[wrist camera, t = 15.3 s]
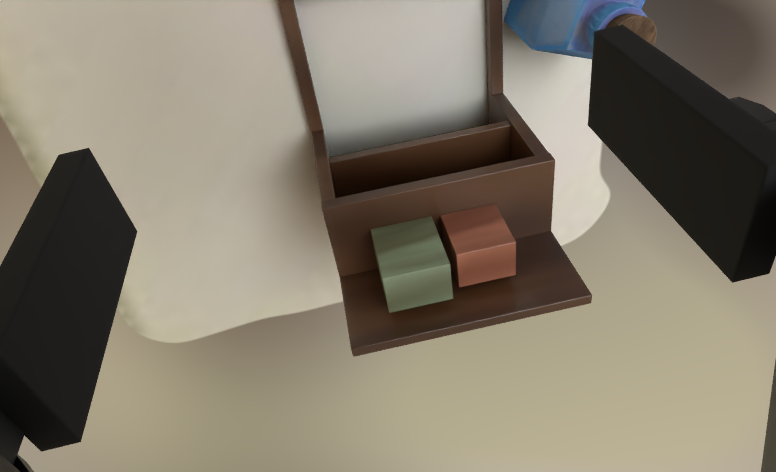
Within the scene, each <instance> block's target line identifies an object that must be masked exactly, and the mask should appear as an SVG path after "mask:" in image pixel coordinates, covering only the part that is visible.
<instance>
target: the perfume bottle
mask: <svg viewBox="0 0 776 472" xmlns="http://www.w3.org/2000/svg"><path fill="white" fill-rule="evenodd" d="M644 2H645V0H510V3H509V7H508V10H507V13H506V16H505V19H504V21H505V22H506V23H507V24H508V25H509V26H510V27H511V28H512V29H513V30H514V31H515V32H516V33H517V34H518V35H519V37H520V38H521V39H522V40H523V41H524V42H525V43H526V44H527V45H528V46H529V47H530V48H531V49H532V50H538V51H544V52H550V53H556V54H563V55H569V56H575V57H581V58H587V59H592V57H593V42H594V31H597V30H601V29H606V28H610V27H614V26H618V25H624V26H626V27H627V28H629V29H630V30H632V31H633V32H634V33H636V34H637V35H639V36H640V37H641V38H643V39H644V40H646V41H647V42H649V43H650V44H651V45H653V46H654V43H655V40H656V27H655V24H654V22H653V21H652V20H651V19H650V18H647V17H646V15H645V14H644V12H643V11H642V10H641V8H642V6H643V4H644Z"/></svg>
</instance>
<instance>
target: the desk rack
mask: <svg viewBox="0 0 776 472" xmlns="http://www.w3.org/2000/svg"><path fill="white" fill-rule="evenodd" d="M278 1H279V5H280V9H281V13H282V17H283V21H284V25H285V29H286V33H287V37H288V41H289V45H290V49H291V53H292V57H293V61H294V65H295V69H296V73H297V77H298V81H299V85H300V89H301V94H302V98H303V102H304V106H305V110H306V114H307V118H308V122H309V126H310V130H311V134H312V141H313V148H314V155H315V162H316V169H317V176H318V183H319V190H320V197H321V205H322V211H323V215H324V219H325V222H326V226H327V230H328V234H329V238H330V242H331V246H332V249H333V253H334V257H335V261H336V265H337V269H338V272H339V276H340V282H341V288H342V295H343V301H344V307H345V313H346V319H347V326H348V332H349V339H350V345H351V350H352V354H353V356H359V355H363V354H367V353H372V352H377V351H381V350H385V349H389V348H394V347H399V346H403V345H408V344H412V343H416V342H421V341H425V340H430V339H434V338H439V337H443V336H447V335H452V334H456V333H461V332H465V331H470V330H474V329H478V328H483V327H487V326H492V325H496V324H500V323H505V322H509V321H514V320H518V319H523V318H527V317H531V316H536V315H540V314H544V313H549V312H554V311H558V310H562V309H567V308H571V307H575V306H580V305H585V304H589V303H591V300H592V294H591V293H590V291H589V290H588V288H587V287H586V285H585V283H584V282H583V280H582V279H581V277H580V276H579V274H578V272H577V271H576V269H575V268H574V266H573V265H572V263H571V262H570V260H569V258H568V257H567V255H566V254H565V252H564V251H563V249H562V248H561V246H560V244H559V243H558V241H557V240H556V238H555V237H554V235H553V233H552V232H551V221H552V204H553V186H554V169H555V159H554V158H553V157H552V155H551V154H550V153H548V151H547V150H546V149H545V147H544V146H543V145H542V144H541V142H540V141H539V140H538V138H537V137H536V136H535V134H534V133H533V132H532V131H531V129H530V128H529V127H528V125H527V124H526V123H525V121H524V120H523V119H522V117H521V116H520V115H519V114H518V112H517V111H516V110H515V108H514V107H513V106H512V104H511V103H510V102H509V101H508V99H507V98H506V97H505V95H504V94H503V39H502V0H486V31H487V69H488V105H489V125H484V126H479V127H475V128H470V129H465V130H460V131H455V132H451V133H446V134H441V135H436V136H431V137H427V138H422V139H417V140H412V141H407V142H403V143H398V144H393V145H388V146H383V147H379V148H374V149H369V150H364V151H359V152H355V153H350V154H345V155H340V156H335V157H331V158H330V156H329V152H328V147H327V143H326V139H325V134H324V130H323V126H322V122H321V117H320V113H319V109H318V104H317V100H316V96H315V91H314V87H313V83H312V78H311V74H310V70H309V66H308V61H307V57H306V53H305V48H304V44H303V40H302V35H301V31H300V27H299V22H298V18H297V14H296V10H295V5H294V1H293V0H278Z"/></svg>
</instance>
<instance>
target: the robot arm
mask: <svg viewBox="0 0 776 472" xmlns="http://www.w3.org/2000/svg"><path fill="white" fill-rule="evenodd" d="M588 126H589V127H590V128H591V129H592V130H593V131H594V132H595V133H596V134H597V136H598V137H599V138H600V139H601V140H602V141H603V142H604V143H605V144H606V145H607V146H608V147H609V149H610V150H611V151H612V152H613V153H614V154H615V155H616V156H617V157H618V158H619V159H620V161H621V162H622V163H623V164H624V165H625V166H626V167H627V168H628V169H629V170H630V172H631V173H632V174H633V175H634V176H635V177H636V178H637V179H638V180H639V181H640V182H641V184H642V185H643V186H644V187H645V188H646V189H647V190H648V191H649V192H650V193H651V194H652V196H653V197H654V198H656V200H657V201H658V202H659V203H660V204H661V205H662V206H663V207H664V209H666V211H667V212H668V213H669V214H670V215H671V216H672V217H673V218H674V219H675V221H676V222H677V223H678V224H679V225H680V226H681V227H682V228H683V229H684V230H685V231H686V233H687V234H688V235H689V236H690V237H691V238H692V239H693V240H694V241H695V242H696V243H697V245H698V246H700V248H701V249H702V250H703V251H704V252H705V253H706V254H707V255H708V256H709V258H710V259H711V260H712V261H713V262H714V263H715V264H716V265H717V266H718V267H719V268H720V270H721V271H722V272H723V273H724V274H725V275H726V276H727V277H728V278H729V279H730V281H732V282H737V281H741V280H745V279H749V278H753V277H757V276H761V275H766V274H769V273H770V270H771V267H772V265H773V262H774V259H775V256H776V113H774V112H773V111H771V110H770V109H768V108H767V107H765V106H764V105H761V104H758V103H755V102H753V101H749V100H747V99H744V98H741V97H736V98H732V99H728V98H726V97H725V96H724V95H722V94H721V93H719V92H718V91H717V90H715V89H714V88H712V87H711V86H709V85H708V84H707V83H705V82H704V81H702V80H701V79H699V78H698V77H696V76H695V75H694V74H692V73H691V72H690V71H688V70H687V69H685V68H684V67H683V66H681V65H680V64H678V63H677V62H675V61H674V60H672V59H671V58H670V57H668V56H667V55H666V54H664V53H663V52H661V51H660V50H658V49H657V48H656V47H654V46H653V45H651V44H650V43H649V42H647V41H646V40H644V39H643V38H641V37H640V36H639V35H637V34H636V33H634V32H633V31H632V30H630V29H629V28H627V27H626V26H624V25H618V26H614V27H610V28H606V29H601V30H597V31H594V42H593V57H592V72H591V87H590V102H589V117H588ZM136 234H137V230H136V228H135V227H134V225H133V223H132V221H131V220H130V218H129V216H128V215H127V213H126V211H125V209H124V208H123V206H122V204H121V202H120V201H119V199H118V197H117V196H116V194H115V192H114V190H113V189H112V187H111V185H110V183H109V182H108V180H107V178H106V177H105V175H104V173H103V171H102V170H101V168H100V166H99V164H98V163H97V161H96V159H95V158H94V156H93V154H92V152H91V151H90V149H89V148H86V149H82V150H78V151H73V152H69V153H65V154H60V155H58V157H57V159H56V161H55V163H54V165H53V167H52V169H51V170H50V172H49V174H48V176H47V178H46V180H45V182H44V184H43V186H42V188H41V190H40V192H39V193H38V195H37V197H36V199H35V201H34V203H33V205H32V207H31V209H30V210H29V213H28V214H27V216H26V218H25V220H24V222H23V224H22V226H21V228H20V230H19V231H18V233H17V235H16V237H15V239H14V241H13V243H12V245H11V247H10V249H9V250H8V253H7V254H6V256H5V258H4V260H3V262H2V264H1V266H0V472H34V471H33V470H32V469H31V467H30V466H29V465H28V463H27V462H26V461H25V460H24V459H22V458H21V457H20V456H19V455H18V451H19V448H20V445H21V443H22V440H23V437H24V435H25V436H26V437H27V438H28V439H29V440H30V441H31V442H32V443H33V444H34V445H35V446H36V447H37V448H38V449H39V450H40V451H45V450H49V449H53V448H57V447H62V446H65V445H70V444H74V443H78V442H81V439H82V435H83V431H84V428H85V424H86V420H87V416H88V413H89V409H90V405H91V401H92V398H93V394H94V390H95V386H96V383H97V379H98V375H99V372H100V368H101V364H102V360H103V357H104V353H105V349H106V345H107V342H108V338H109V334H110V331H111V327H112V323H113V320H114V316H115V312H116V308H117V305H118V301H119V297H120V293H121V290H122V286H123V282H124V279H125V275H126V271H127V267H128V264H129V260H130V256H131V252H132V249H133V245H134V241H135V238H136ZM761 472H776V361H775V369H774V376H773V384H772V392H771V400H770V408H769V415H768V422H767V430H766V438H765V445H764V453H763V460H762V468H761Z"/></svg>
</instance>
